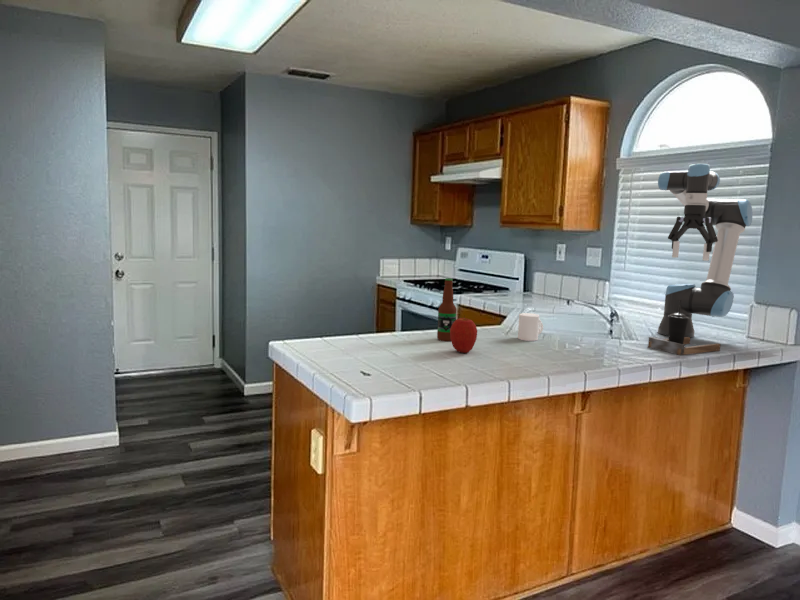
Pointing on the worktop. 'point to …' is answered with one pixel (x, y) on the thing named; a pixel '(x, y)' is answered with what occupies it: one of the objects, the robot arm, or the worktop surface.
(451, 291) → the bottle
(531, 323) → the mug
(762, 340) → the worktop surface
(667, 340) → the channel
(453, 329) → the apple
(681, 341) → the drinking cup
